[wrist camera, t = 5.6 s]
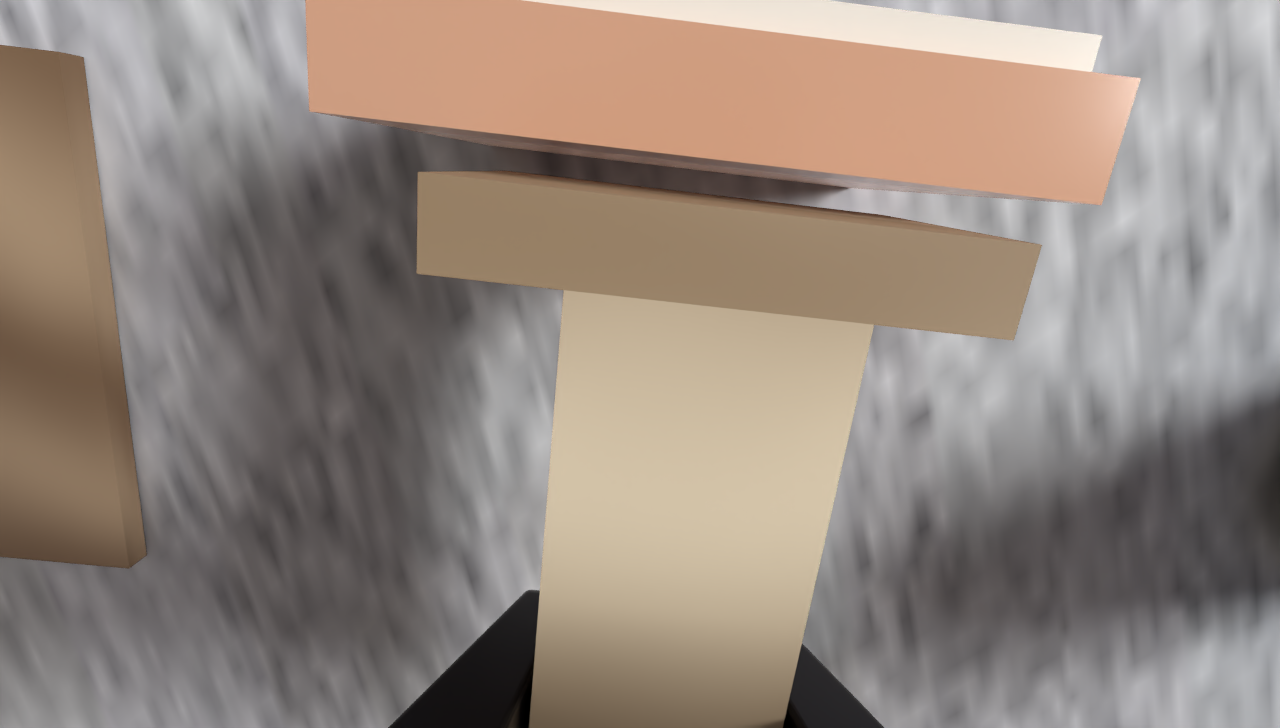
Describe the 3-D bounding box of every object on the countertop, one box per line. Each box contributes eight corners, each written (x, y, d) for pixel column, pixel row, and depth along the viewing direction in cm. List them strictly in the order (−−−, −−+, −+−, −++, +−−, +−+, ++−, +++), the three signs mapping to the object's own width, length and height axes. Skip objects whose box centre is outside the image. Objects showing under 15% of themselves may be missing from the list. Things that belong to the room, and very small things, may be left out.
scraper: (750, 817, 12) (795, 1079, 8) (475, 794, 11) (408, 1053, 8) (883, 214, 8) (1041, 245, 5) (506, 170, 8) (417, 172, 5)
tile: (850, 188, 14) (1101, 205, 6) (490, 145, 14) (308, 111, 6) (865, 111, 14) (1155, 32, 6) (494, 66, 13) (303, -77, 6)
